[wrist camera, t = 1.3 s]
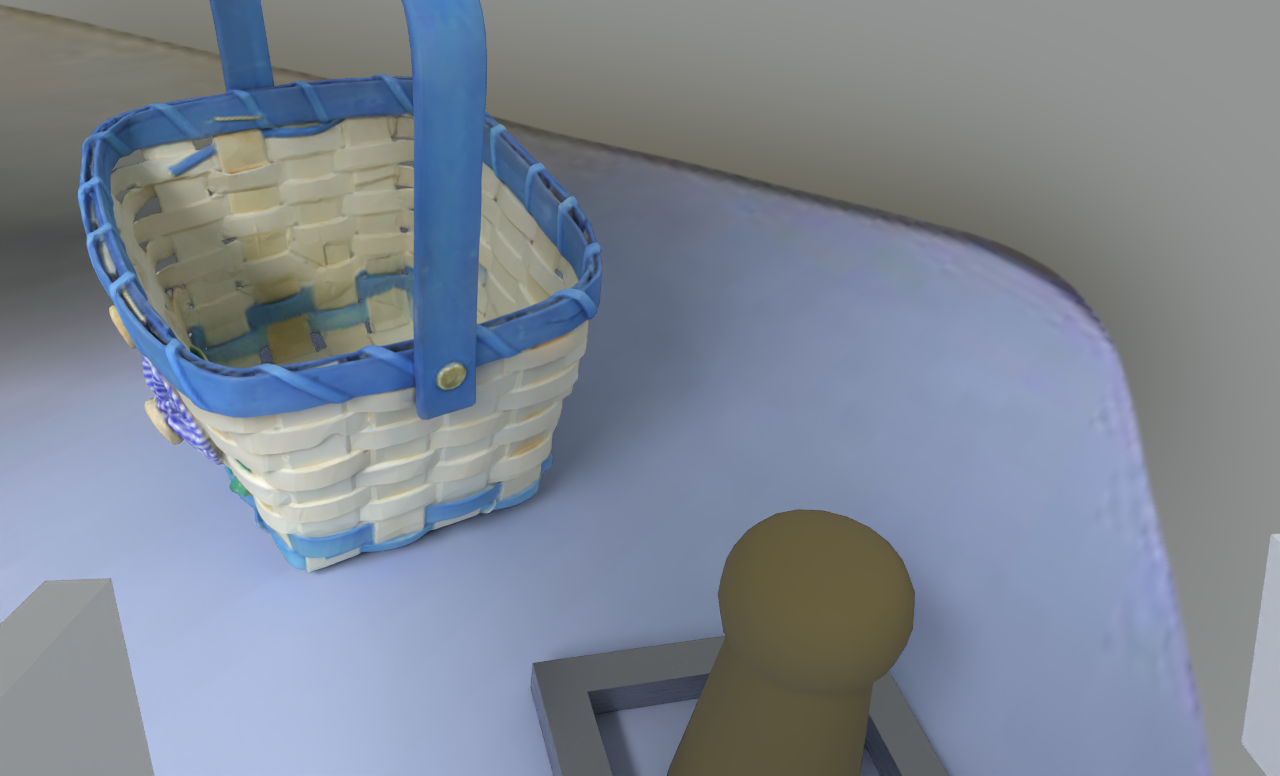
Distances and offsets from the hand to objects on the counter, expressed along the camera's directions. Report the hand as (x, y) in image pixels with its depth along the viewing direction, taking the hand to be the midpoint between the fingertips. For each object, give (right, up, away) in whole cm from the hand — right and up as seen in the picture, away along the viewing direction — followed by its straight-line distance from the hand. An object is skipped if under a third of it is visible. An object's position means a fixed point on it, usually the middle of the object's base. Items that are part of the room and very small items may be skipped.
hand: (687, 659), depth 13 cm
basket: (-13, 0, +35) cm, 37 cm away
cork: (+3, -10, +23) cm, 25 cm away
